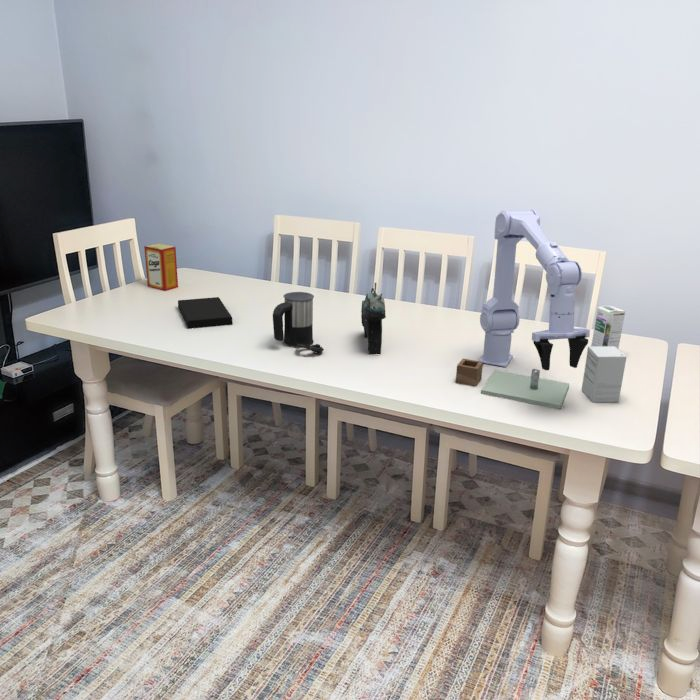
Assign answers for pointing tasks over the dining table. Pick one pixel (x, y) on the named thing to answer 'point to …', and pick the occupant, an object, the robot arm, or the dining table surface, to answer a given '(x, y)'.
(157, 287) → the baking soda box
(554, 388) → the sage board
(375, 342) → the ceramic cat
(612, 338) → the syrup box
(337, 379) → the dining table surface
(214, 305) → the external hard drive
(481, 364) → the walnut collar
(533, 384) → the grey steel post
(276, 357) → the dining table surface
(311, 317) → the milk frother
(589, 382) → the supplement box
